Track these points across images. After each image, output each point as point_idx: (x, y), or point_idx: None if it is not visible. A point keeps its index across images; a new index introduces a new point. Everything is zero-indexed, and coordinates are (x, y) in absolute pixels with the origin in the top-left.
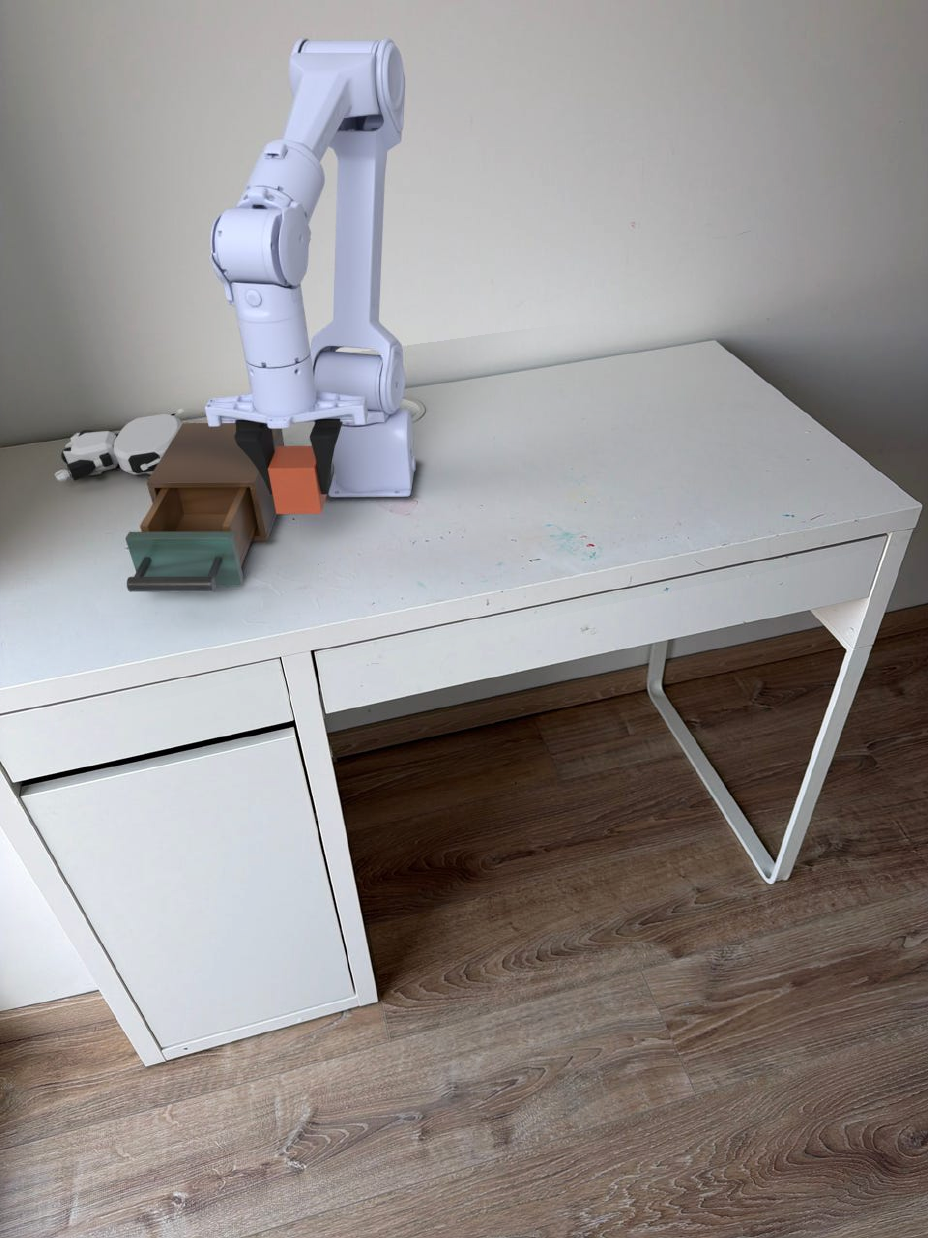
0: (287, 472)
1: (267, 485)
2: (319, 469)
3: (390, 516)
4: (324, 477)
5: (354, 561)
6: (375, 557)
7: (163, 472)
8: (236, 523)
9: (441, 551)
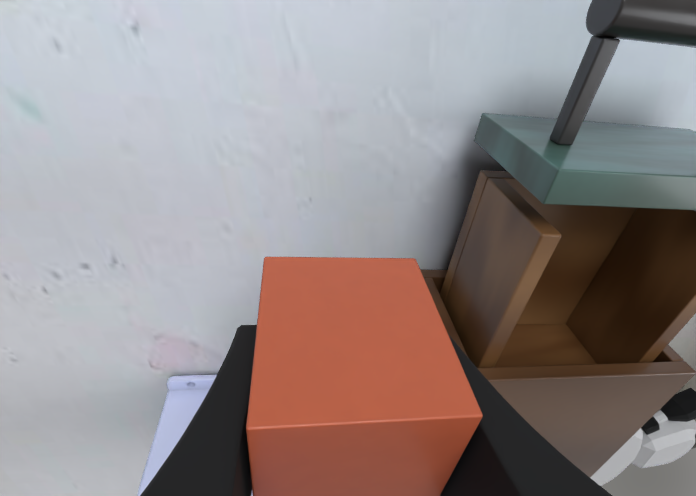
0: (387, 400)
1: (458, 348)
2: (233, 423)
3: (191, 331)
4: (223, 385)
5: (231, 206)
6: (186, 217)
7: (649, 399)
8: (509, 260)
9: (34, 232)
